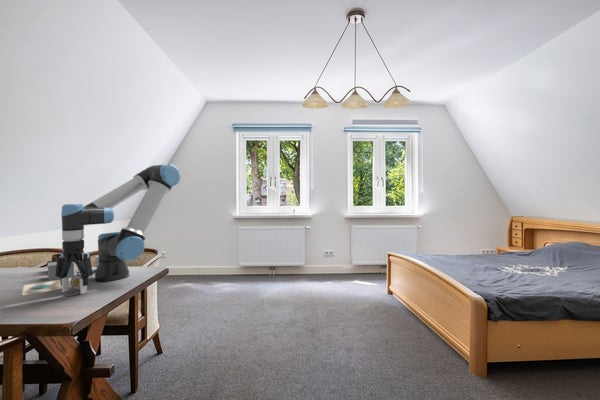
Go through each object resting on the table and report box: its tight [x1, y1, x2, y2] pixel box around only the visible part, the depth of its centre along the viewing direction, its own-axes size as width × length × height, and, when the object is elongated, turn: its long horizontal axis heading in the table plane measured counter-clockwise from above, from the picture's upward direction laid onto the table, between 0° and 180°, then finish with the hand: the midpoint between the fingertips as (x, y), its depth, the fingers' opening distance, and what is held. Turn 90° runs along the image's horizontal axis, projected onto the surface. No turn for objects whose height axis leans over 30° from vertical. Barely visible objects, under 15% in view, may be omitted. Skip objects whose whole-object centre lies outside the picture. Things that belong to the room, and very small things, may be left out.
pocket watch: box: [61, 268, 82, 297], centre depth 131 cm, size 8×8×10 cm
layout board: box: [21, 277, 79, 296], centre depth 140 cm, size 22×19×1 cm
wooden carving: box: [46, 253, 65, 268], centre depth 169 cm, size 16×5×10 cm, turn 68°
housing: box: [47, 262, 75, 281], centre depth 155 cm, size 10×10×8 cm
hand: (74, 292), depth 131 cm, fingers open, 8 cm apart
